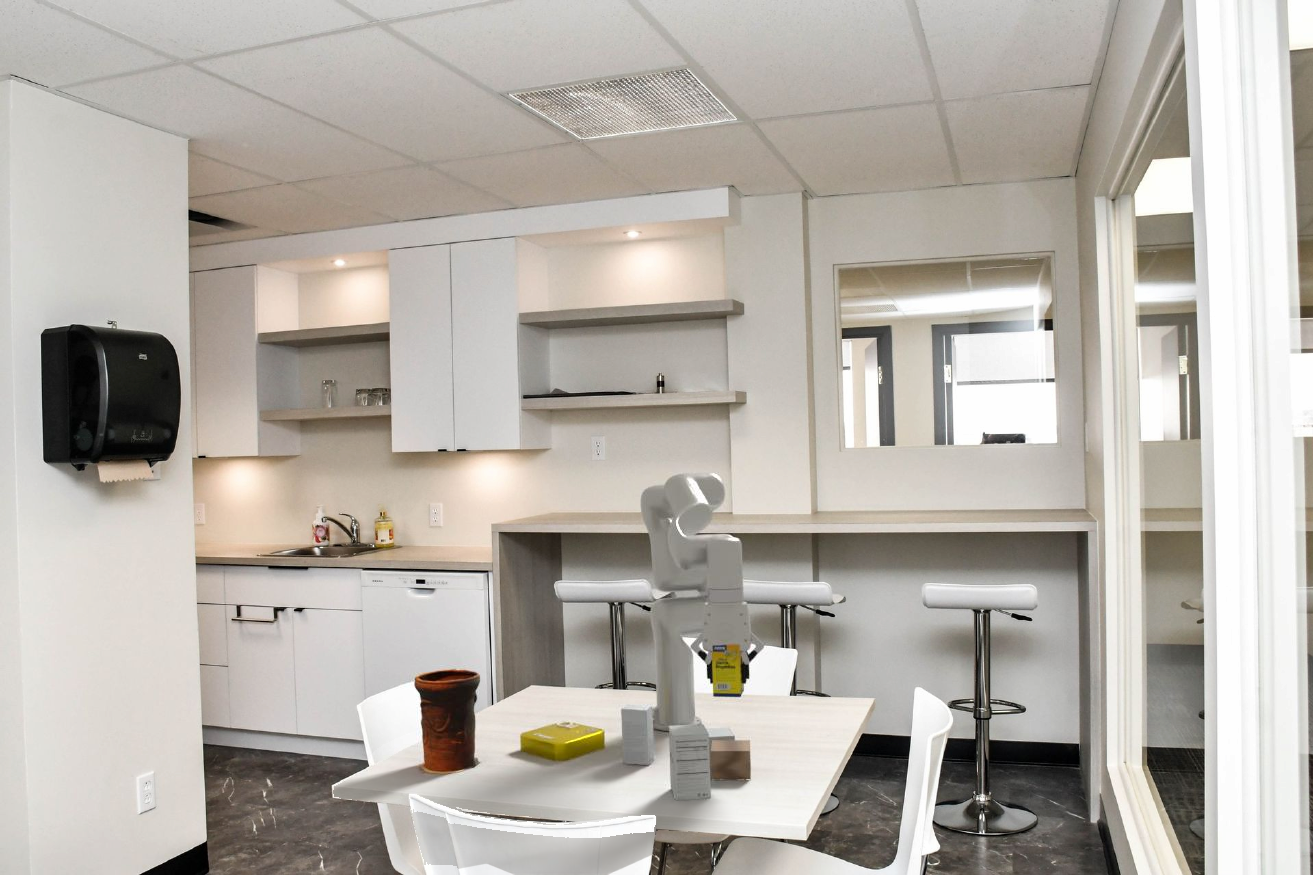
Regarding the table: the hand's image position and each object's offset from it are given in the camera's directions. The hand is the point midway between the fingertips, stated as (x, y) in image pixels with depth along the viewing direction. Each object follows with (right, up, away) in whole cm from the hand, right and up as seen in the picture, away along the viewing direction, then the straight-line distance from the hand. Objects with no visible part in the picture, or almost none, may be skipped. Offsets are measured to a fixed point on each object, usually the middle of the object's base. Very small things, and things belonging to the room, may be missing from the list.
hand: (728, 681), depth 209 cm
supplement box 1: (-8, -19, -12) cm, 24 cm away
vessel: (-61, -22, +12) cm, 66 cm away
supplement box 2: (0, -3, 0) cm, 3 cm away
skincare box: (-19, -20, +10) cm, 29 cm away
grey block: (-2, -20, +10) cm, 22 cm away
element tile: (-37, -22, +22) cm, 48 cm away
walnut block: (+1, -19, -1) cm, 19 cm away
